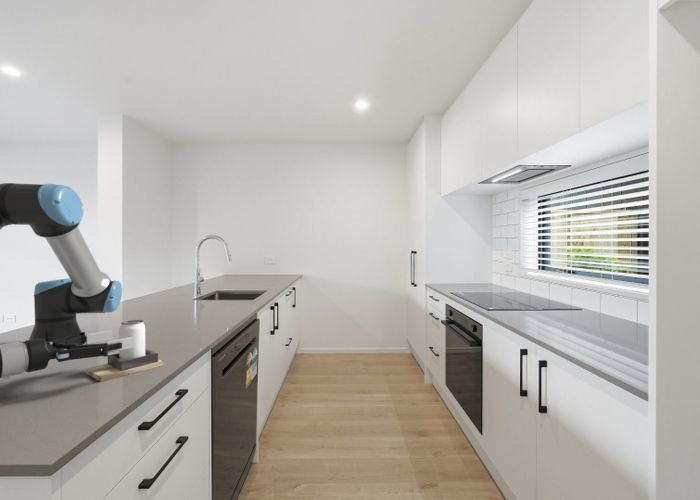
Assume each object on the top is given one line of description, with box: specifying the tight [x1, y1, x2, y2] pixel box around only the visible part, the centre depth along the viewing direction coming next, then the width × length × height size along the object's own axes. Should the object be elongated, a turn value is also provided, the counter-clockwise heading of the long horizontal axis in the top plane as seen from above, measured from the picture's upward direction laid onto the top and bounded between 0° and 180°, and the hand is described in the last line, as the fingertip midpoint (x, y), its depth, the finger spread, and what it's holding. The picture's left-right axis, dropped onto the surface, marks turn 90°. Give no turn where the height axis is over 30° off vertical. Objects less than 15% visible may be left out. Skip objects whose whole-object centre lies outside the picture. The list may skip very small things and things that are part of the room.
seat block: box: [84, 348, 164, 383], centre depth 103 cm, size 11×16×4 cm
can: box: [118, 319, 146, 361], centre depth 104 cm, size 6×6×12 cm
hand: (122, 338), depth 102 cm, fingers open, 13 cm apart
